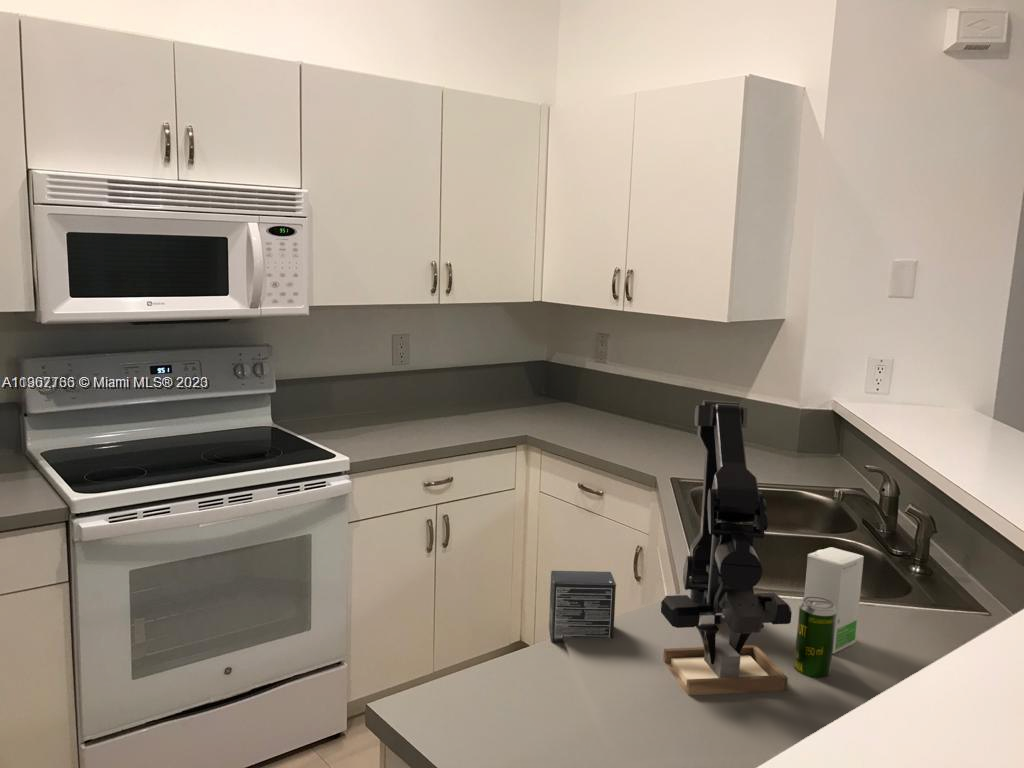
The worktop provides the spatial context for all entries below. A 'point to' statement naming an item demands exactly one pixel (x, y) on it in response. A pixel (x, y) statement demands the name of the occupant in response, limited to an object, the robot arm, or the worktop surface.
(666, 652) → the walnut tray
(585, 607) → the small box
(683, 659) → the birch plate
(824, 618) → the beer can
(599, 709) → the worktop surface
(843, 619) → the skincare box
